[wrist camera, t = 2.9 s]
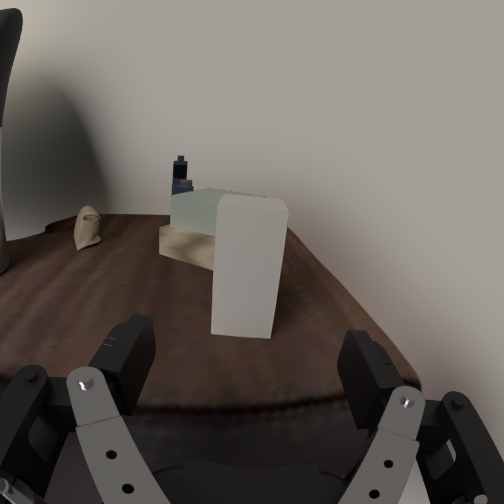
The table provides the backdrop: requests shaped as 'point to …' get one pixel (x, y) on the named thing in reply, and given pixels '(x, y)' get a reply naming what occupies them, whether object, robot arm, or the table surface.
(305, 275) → the table surface
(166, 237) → the base block
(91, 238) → the decorative ornament
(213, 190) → the top block
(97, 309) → the table surface
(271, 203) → the white block
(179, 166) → the vaping device
